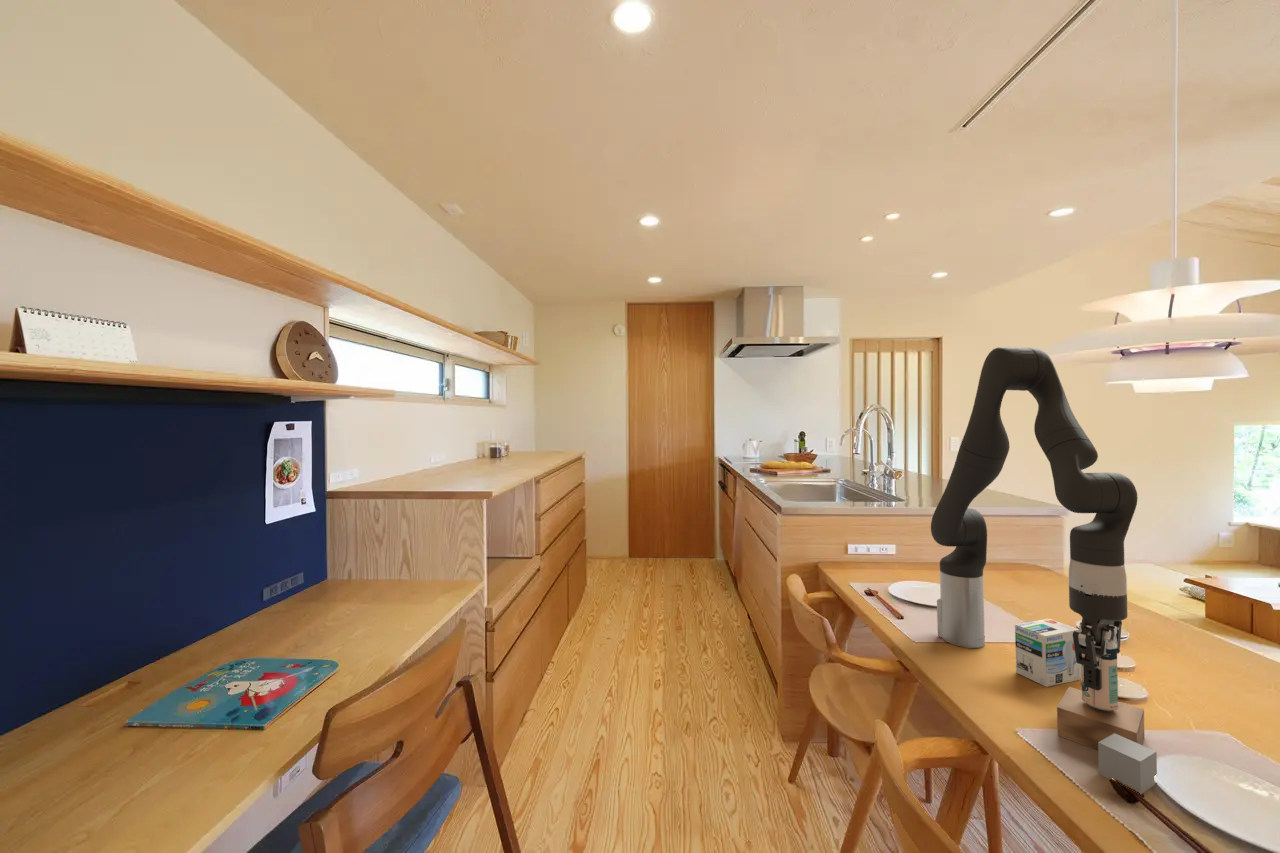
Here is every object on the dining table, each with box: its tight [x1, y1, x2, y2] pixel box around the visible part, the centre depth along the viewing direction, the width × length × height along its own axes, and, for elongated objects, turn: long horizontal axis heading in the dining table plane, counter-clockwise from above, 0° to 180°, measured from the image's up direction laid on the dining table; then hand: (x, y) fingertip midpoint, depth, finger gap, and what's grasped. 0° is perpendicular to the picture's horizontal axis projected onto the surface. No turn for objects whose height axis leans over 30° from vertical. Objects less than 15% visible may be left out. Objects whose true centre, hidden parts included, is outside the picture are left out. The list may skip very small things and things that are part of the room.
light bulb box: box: [1014, 618, 1082, 688], centre depth 108 cm, size 11×7×11 cm, turn 106°
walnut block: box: [1056, 686, 1145, 751], centre depth 87 cm, size 10×10×5 cm
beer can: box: [1081, 639, 1119, 711], centre depth 87 cm, size 5×5×12 cm
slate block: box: [1097, 733, 1158, 795], centre depth 77 cm, size 5×5×5 cm
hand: (1098, 683), depth 87 cm, fingers closed on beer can, 4 cm apart
